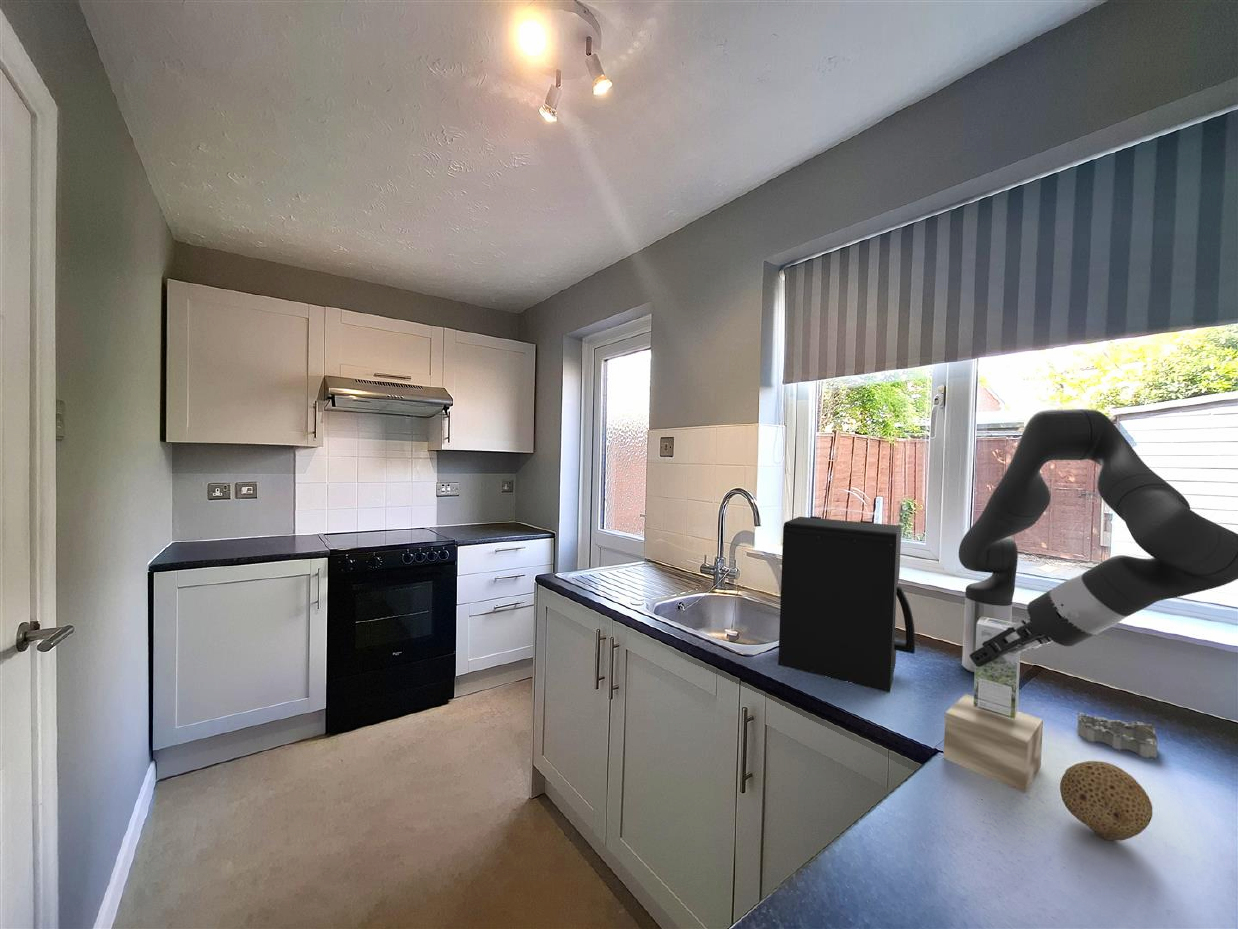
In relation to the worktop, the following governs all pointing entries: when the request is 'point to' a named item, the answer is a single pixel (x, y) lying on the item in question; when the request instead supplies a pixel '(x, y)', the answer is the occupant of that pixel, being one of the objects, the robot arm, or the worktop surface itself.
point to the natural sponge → (1106, 799)
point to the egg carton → (1119, 734)
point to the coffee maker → (842, 600)
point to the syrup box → (996, 673)
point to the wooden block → (994, 743)
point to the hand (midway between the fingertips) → (987, 657)
